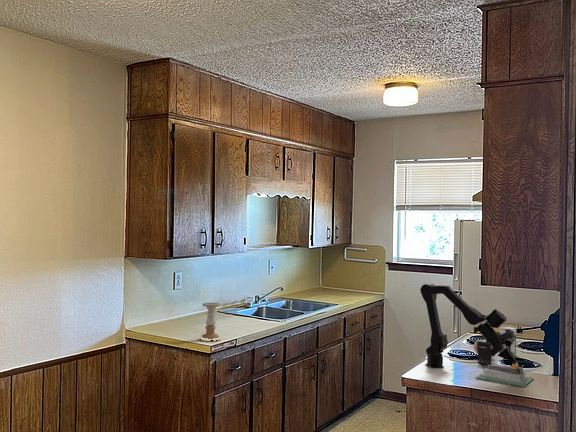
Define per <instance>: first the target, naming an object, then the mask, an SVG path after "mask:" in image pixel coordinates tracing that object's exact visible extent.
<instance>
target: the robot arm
mask: <svg viewBox="0 0 576 432" xmlns="http://www.w3.org/2000/svg"><path fill="white" fill-rule="evenodd" d="M419 291H420V294H421V297H422V299H423V301H424V303H426V304H425V305H426V310H427V314H428V319H429V325H430V331H431V336H430V345H429V346H428V347H427V348H426V349H425V351H426V354H427V355H426V356H427V359H426V363H424V365H425V366H427V367H430V368H432V369H437V368H439V369H443V368H444V367H445V366H444V356H443V353H444V350H446V349H447V347H448V344H449V341H448V336H447V334H444V332H443V331H442V327H441V321H440V317H439V311H438V306H437V296H438V295H443V296H445V297H446V299H448V300H449V302H451V303H452V304H453V305H454V307H456V308H457V309H459V311H460V312H461V313H462V315H463V317H464V319H465V320H466V321H467V323H468V324H470V326H471V325H472V326H474V327H473V334H477V333H479V334H480V335H481V336H482V338H483V339H486V342H487V343H488V342H489V343H490V345H491V346H492V347H493V348H492V349H491V350H490V354H491V356H492V358H493V357H495V356H496V355H497V357H500V358H503V359H504V360H506V361H508V362H510V363H514V364H515V363H518V361H517V360H516V357H515V355H513V354H512V352H511V345H512V344H513V343H514V342H513V341H512V340H511V338H514V337H515V335H514V332H513V330H510V329H507V330H505V333H502V334H501V332H499V331H496V330H495V329H498V328H501V326H502V325H503V324H504V323H505V322H506V321H508V319H507V316H505V314H504V313H502V312H500V311H499V310H498V309H497V308H494V309H493V310H492V311H491V312H490V313H489V314H488V315H485V314H482V313H481V312H480V311H479V310H478V309H476V308H475V307H473V306H471V305H469V304H467V302H466V301H465V300H463V298H462V297H461V296H459V295H458V294H457V292H455V291H454V290H453V288H451V287H450V285H446V284H445V285H435V284H434V283H425V284H423V285H422V286H421V287H420V290H419ZM478 324H479V325H478ZM476 325H477V326H476Z"/></svg>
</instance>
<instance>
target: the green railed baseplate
mask: <svg viewBox="0 0 576 432" xmlns="http://www.w3.org/2000/svg"><path fill="white" fill-rule="evenodd" d="M492 364H495V365H496V363H495V362H492V363H491V365H486V366H487V367H485V368H484V369H483V372H482V373H481V374H479V375H477V376H476V377H475V379H476V380H480V381H485V382H492V383H498V384H502V385H507V386H512V387H519V388H525V387H526V386H527V385H528V384H530V383H531V382H532V381H533V380H534V379H535V378H534V377H530V376H528V375H527V371H526V370H524V367H522V366H518V368H517V371H511V370H504V369H498V368H492Z"/></svg>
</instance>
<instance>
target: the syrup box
mask: <svg viewBox="0 0 576 432" xmlns="http://www.w3.org/2000/svg"><path fill="white" fill-rule="evenodd" d="M507 329H510V330H513V332H514V335H515V337H514V338H511V340H512V341H513V342H514V343H513V344H512V345H511V352H512V354H513V356H516V355H517V328H516V327H512V326H506V327H505V326H503V327H501V326H500V334H502V333H505V330H507Z"/></svg>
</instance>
